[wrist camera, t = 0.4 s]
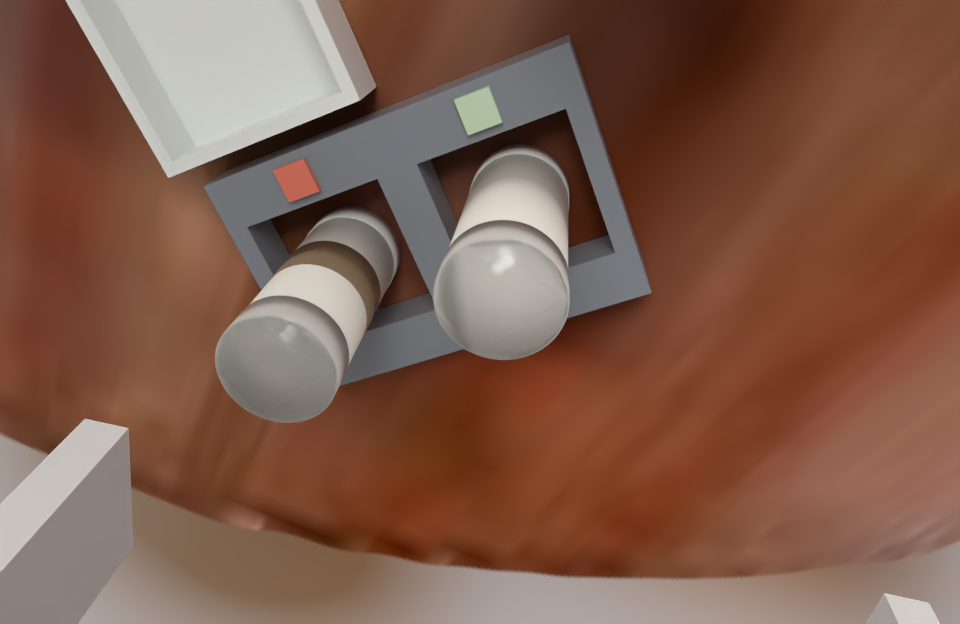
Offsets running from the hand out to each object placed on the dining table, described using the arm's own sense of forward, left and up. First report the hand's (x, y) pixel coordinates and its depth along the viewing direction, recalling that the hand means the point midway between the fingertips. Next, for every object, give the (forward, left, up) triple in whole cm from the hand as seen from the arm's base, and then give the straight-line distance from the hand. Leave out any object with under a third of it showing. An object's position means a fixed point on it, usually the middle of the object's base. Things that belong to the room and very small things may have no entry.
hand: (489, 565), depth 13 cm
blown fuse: (+1, -10, -26) cm, 28 cm away
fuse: (+1, -1, -26) cm, 26 cm away
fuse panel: (+1, -6, -26) cm, 26 cm away
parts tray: (-12, -11, -26) cm, 30 cm away
